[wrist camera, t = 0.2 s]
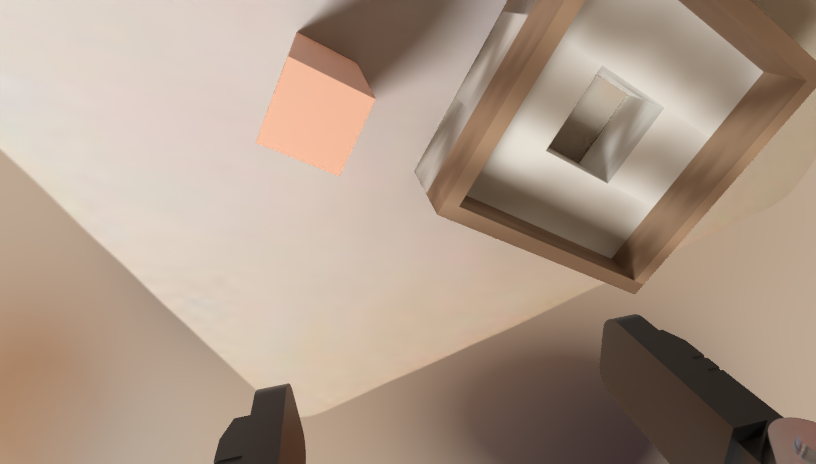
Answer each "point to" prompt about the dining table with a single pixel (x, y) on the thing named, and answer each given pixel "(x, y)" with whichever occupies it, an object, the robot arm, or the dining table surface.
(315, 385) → the dining table surface
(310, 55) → the peg
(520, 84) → the bore box
